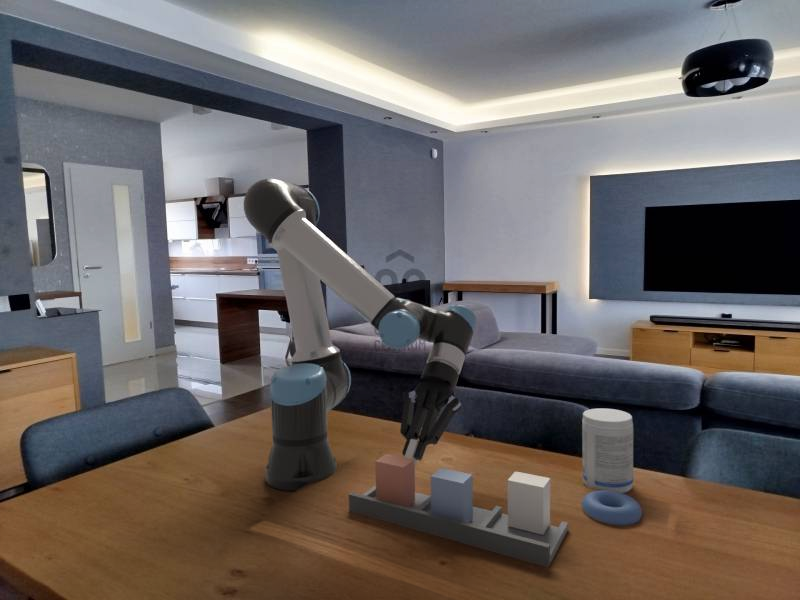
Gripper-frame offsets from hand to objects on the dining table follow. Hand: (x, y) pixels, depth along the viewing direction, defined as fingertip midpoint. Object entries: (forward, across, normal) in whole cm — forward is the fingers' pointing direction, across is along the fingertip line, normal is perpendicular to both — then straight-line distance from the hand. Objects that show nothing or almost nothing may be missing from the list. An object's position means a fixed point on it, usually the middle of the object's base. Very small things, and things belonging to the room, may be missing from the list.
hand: (405, 473), depth 101 cm
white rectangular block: (+3, -24, -3) cm, 24 cm away
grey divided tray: (+7, -12, -2) cm, 14 cm away
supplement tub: (-14, -32, -23) cm, 42 cm away
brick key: (+6, 0, -1) cm, 6 cm away
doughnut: (-4, -35, -13) cm, 37 cm away
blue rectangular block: (+6, -12, 0) cm, 13 cm away
